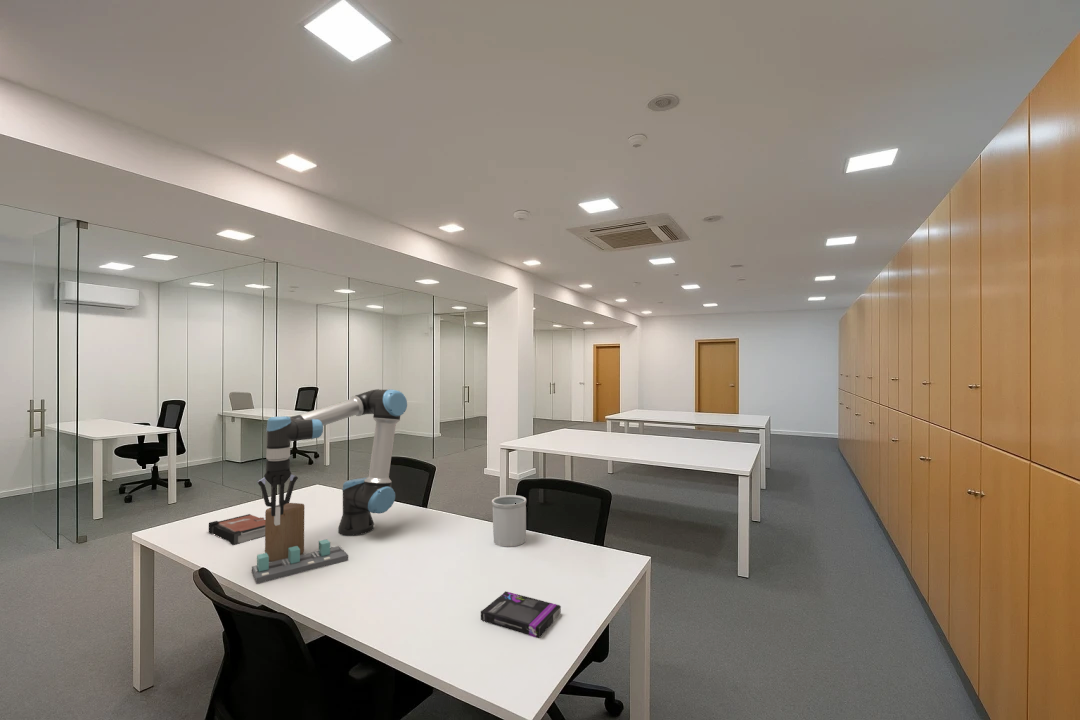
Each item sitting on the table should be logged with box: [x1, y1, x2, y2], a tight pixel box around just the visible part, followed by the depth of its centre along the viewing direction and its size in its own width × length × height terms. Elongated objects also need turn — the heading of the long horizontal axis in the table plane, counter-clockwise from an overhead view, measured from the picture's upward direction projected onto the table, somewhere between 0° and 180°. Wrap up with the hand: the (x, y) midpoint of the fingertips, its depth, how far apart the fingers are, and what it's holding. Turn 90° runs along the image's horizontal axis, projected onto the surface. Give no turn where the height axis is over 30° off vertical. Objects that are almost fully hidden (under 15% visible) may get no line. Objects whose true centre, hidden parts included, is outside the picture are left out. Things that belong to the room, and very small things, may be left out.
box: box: [480, 591, 562, 639], centre depth 131 cm, size 14×4×20 cm
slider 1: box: [256, 552, 270, 572], centre depth 160 cm, size 3×4×4 cm, turn 40°
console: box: [251, 545, 349, 585], centre depth 167 cm, size 30×12×3 cm, turn 130°
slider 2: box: [288, 546, 300, 564], centre depth 166 cm, size 3×4×4 cm, turn 40°
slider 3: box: [318, 538, 331, 556], centre depth 173 cm, size 3×4×4 cm, turn 40°
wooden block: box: [264, 502, 305, 562], centre depth 175 cm, size 10×10×20 cm
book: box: [208, 513, 265, 546], centre depth 202 cm, size 26×18×5 cm
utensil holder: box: [491, 494, 527, 548], centre depth 191 cm, size 15×15×18 cm
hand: (277, 524), depth 163 cm, fingers closed
